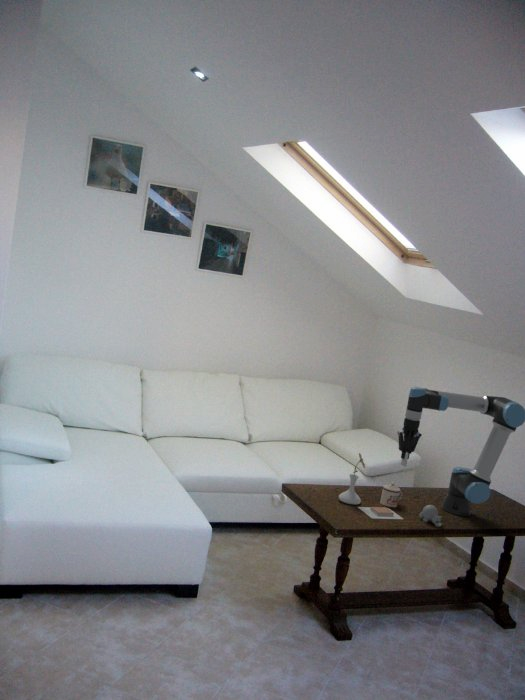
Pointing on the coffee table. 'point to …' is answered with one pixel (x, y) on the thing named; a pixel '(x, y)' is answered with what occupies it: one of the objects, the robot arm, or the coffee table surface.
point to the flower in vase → (352, 488)
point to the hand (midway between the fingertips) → (403, 465)
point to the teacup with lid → (390, 495)
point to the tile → (381, 511)
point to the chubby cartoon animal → (431, 515)
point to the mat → (372, 515)
